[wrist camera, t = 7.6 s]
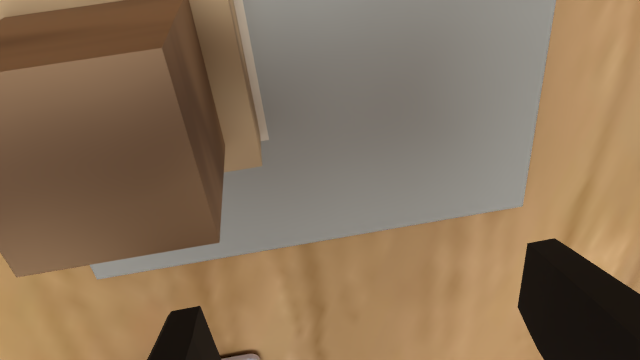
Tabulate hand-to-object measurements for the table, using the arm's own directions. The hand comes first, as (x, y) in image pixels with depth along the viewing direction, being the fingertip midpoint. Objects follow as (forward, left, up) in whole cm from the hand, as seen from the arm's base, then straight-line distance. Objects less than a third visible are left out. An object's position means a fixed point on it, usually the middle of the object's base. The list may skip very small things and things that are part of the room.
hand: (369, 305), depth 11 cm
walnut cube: (+3, +6, -7) cm, 10 cm away
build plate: (+1, +1, -10) cm, 10 cm away
